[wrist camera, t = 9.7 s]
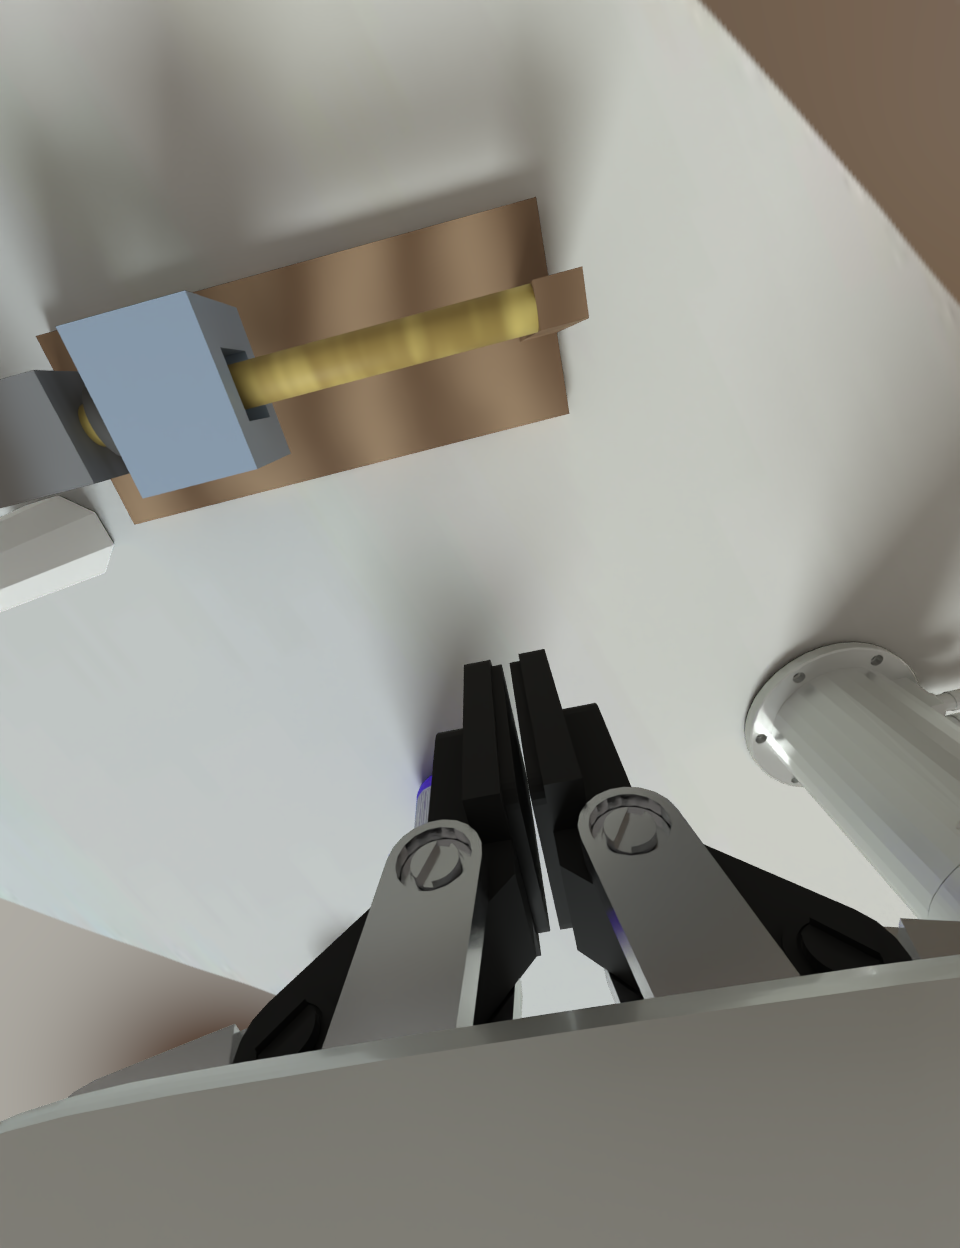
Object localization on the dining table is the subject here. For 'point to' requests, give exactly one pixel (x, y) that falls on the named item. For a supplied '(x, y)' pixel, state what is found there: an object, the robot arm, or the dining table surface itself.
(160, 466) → the sleeve
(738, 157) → the dining table surface
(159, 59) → the dining table surface
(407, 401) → the rod stand
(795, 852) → the dining table surface
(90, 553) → the pepper shaker
